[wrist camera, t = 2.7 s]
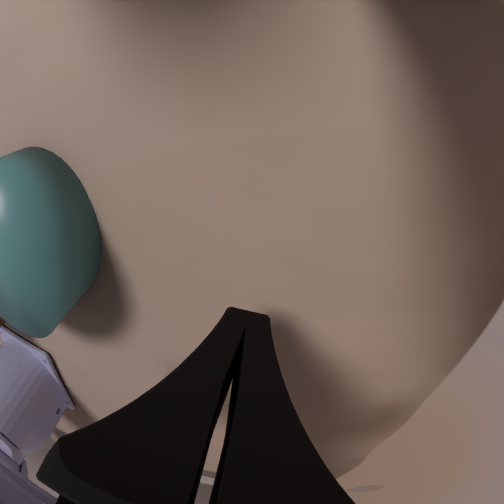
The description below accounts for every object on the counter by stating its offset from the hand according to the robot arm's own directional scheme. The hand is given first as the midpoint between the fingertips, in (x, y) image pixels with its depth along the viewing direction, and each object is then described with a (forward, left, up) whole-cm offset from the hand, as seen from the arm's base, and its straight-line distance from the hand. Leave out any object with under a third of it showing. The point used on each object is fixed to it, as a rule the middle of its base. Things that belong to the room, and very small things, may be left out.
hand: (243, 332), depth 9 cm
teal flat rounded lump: (0, +12, -3) cm, 12 cm away
